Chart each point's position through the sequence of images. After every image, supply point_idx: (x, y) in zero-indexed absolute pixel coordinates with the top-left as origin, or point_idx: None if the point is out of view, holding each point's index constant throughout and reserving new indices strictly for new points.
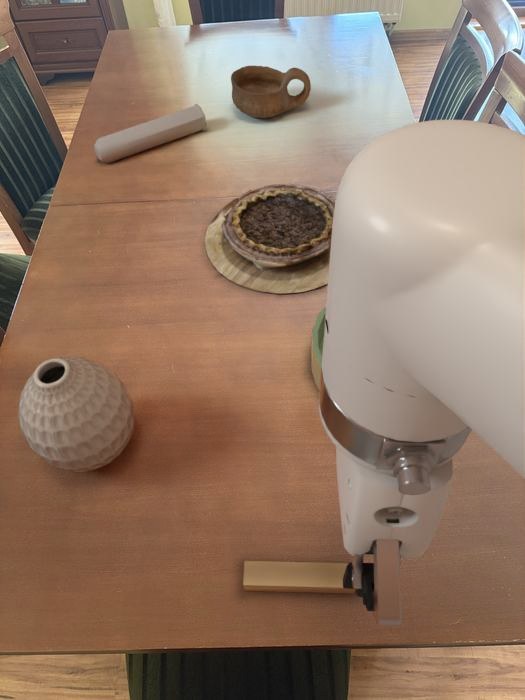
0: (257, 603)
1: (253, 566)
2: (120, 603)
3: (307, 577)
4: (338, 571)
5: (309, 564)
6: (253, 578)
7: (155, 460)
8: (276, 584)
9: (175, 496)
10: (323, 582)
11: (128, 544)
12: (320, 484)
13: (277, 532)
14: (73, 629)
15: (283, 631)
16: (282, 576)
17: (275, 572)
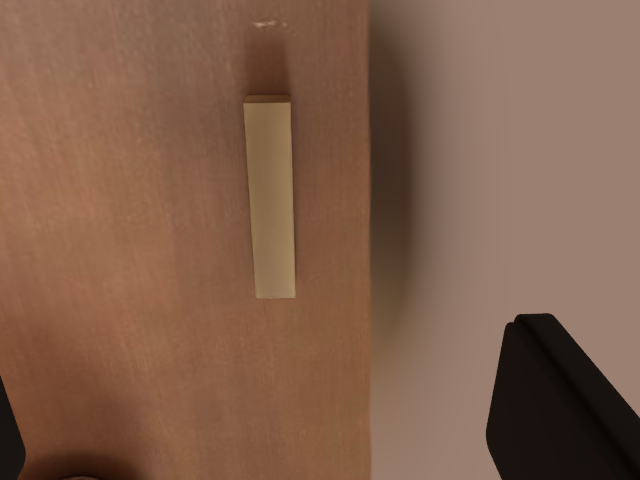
0: (313, 258)
1: (264, 284)
2: (319, 428)
3: (276, 195)
4: (261, 137)
5: (252, 191)
6: (284, 283)
7: (97, 426)
8: (291, 247)
9: (154, 390)
10: (283, 166)
11: (239, 435)
12: (80, 153)
13: (193, 232)
14: (352, 468)
15: (354, 217)
16: (277, 237)
17: (271, 248)
